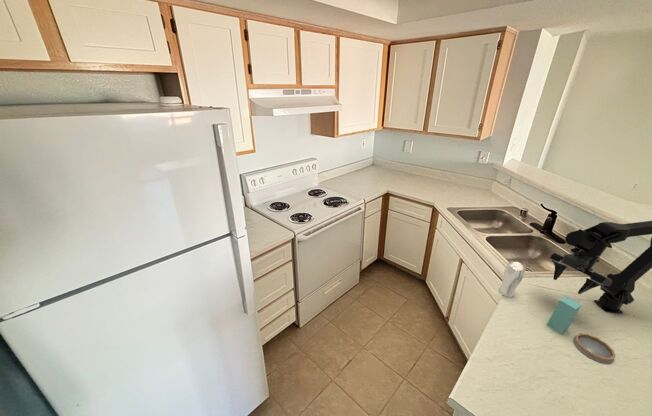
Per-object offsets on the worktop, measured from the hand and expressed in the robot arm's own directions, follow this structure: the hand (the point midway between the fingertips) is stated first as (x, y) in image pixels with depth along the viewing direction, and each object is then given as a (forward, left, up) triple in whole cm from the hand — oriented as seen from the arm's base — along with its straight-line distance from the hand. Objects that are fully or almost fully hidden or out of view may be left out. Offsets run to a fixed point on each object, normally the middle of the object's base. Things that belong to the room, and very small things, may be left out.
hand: (566, 286), depth 104 cm
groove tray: (-2, +18, -13) cm, 22 cm away
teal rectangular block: (+4, +9, -13) cm, 16 cm away
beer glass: (+14, -9, -13) cm, 22 cm away
